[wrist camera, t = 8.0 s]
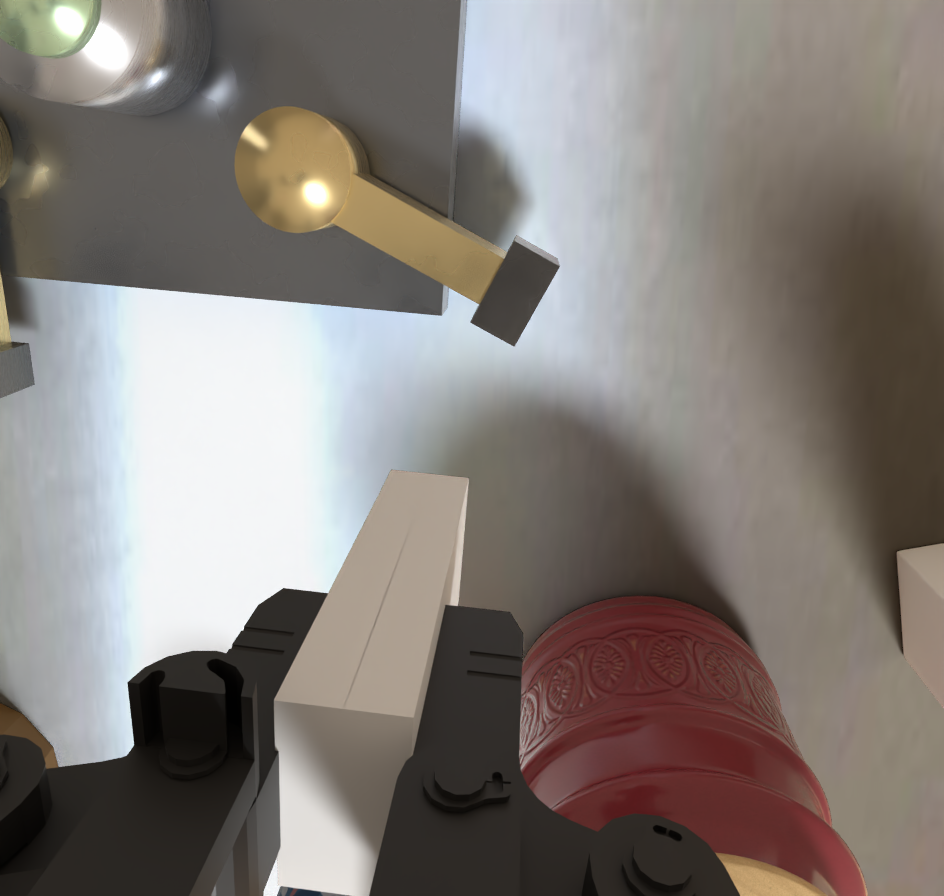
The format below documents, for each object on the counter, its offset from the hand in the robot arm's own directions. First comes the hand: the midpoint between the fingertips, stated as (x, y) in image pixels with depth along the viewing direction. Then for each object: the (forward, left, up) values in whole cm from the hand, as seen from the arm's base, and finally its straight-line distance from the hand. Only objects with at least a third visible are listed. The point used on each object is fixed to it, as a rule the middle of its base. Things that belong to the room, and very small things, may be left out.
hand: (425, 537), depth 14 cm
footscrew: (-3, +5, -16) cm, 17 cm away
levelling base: (-14, +8, -18) cm, 24 cm away
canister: (+9, -18, -19) cm, 27 cm away
